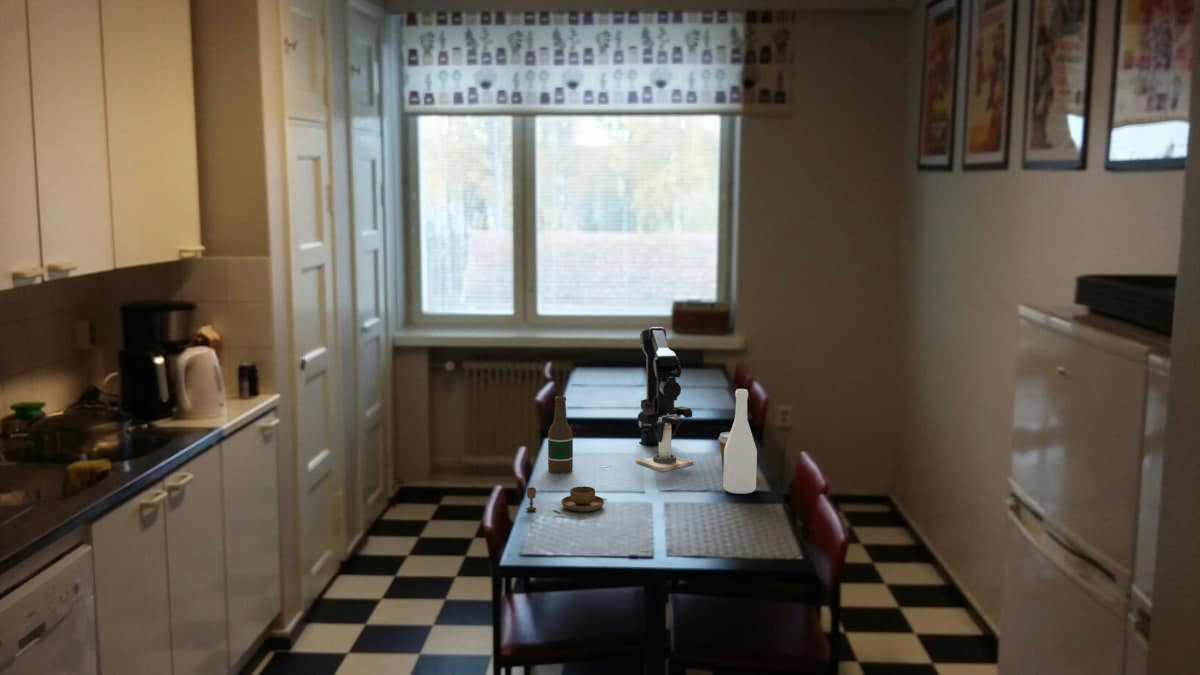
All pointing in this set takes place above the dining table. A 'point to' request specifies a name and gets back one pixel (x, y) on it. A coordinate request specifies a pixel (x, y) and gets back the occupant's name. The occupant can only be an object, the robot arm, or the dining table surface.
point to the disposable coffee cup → (723, 445)
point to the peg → (665, 443)
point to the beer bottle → (560, 441)
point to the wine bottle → (740, 451)
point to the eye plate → (665, 466)
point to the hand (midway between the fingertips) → (665, 441)
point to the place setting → (574, 500)
